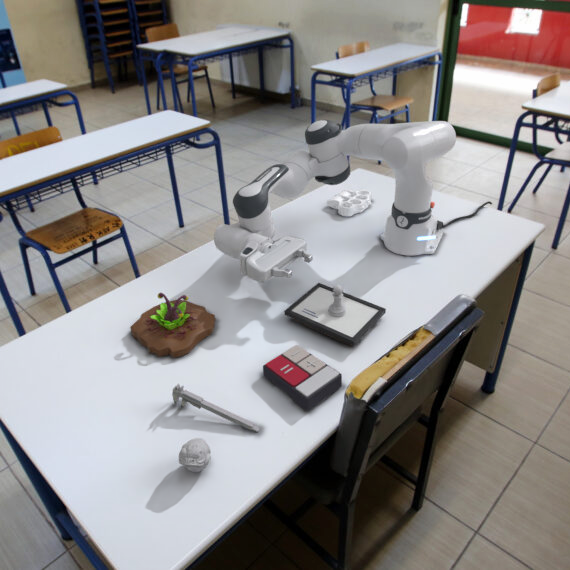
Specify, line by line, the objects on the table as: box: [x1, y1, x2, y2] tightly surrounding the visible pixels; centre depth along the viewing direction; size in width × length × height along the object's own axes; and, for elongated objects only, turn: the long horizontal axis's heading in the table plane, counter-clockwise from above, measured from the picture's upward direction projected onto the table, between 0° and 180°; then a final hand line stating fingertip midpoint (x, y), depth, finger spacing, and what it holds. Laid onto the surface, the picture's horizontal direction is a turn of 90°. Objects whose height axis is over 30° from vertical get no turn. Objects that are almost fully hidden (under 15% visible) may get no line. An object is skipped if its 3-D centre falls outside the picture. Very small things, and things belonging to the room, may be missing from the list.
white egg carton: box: [326, 189, 373, 217], centre depth 189 cm, size 3×18×15 cm
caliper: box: [171, 383, 261, 433], centre depth 105 cm, size 20×1×6 cm, turn 67°
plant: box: [129, 292, 216, 358], centre depth 128 cm, size 20×20×11 cm
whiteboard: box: [283, 282, 387, 347], centre depth 132 cm, size 16×21×3 cm
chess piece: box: [328, 285, 346, 317], centre depth 129 cm, size 5×5×8 cm
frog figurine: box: [178, 437, 212, 473], centre depth 95 cm, size 6×7×7 cm
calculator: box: [262, 344, 343, 411], centre depth 114 cm, size 11×4×15 cm
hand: (300, 266), depth 133 cm, fingers open, 8 cm apart
